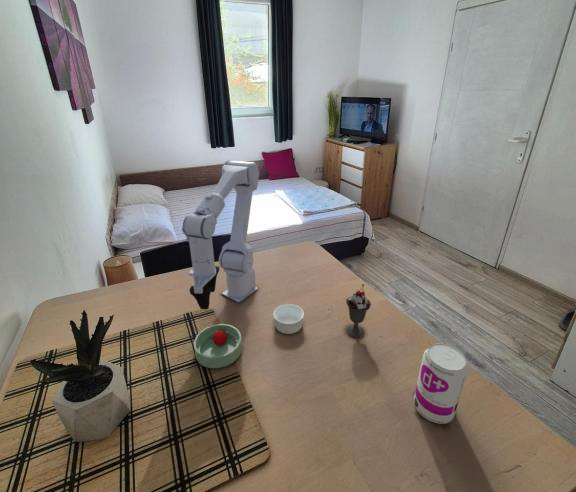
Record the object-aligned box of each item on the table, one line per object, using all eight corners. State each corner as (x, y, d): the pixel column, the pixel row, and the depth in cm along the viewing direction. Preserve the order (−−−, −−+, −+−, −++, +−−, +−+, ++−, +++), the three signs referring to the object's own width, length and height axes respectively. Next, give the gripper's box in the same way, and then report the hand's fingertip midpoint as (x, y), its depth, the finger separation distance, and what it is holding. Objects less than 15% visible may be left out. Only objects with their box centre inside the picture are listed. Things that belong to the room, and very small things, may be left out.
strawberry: (218, 349, 87) (221, 335, 90) (228, 346, 86) (231, 331, 89) (208, 343, 85) (211, 328, 88) (219, 339, 84) (222, 325, 87)
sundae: (365, 324, 95) (370, 281, 89) (368, 340, 89) (374, 295, 83) (342, 322, 96) (346, 279, 90) (344, 339, 90) (348, 294, 84)
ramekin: (268, 330, 93) (268, 318, 91) (280, 312, 100) (280, 300, 99) (297, 339, 90) (297, 327, 88) (307, 319, 97) (308, 307, 95)
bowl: (220, 329, 93) (218, 318, 92) (251, 347, 87) (250, 335, 85) (185, 355, 84) (184, 343, 83) (218, 377, 78) (216, 365, 76)
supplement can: (435, 433, 66) (450, 379, 60) (405, 400, 72) (415, 349, 66) (462, 415, 69) (478, 363, 63) (430, 386, 76) (442, 336, 70)
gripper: (194, 244, 92) (200, 284, 98) (178, 272, 79) (186, 316, 84) (219, 244, 92) (223, 284, 98) (207, 272, 79) (213, 316, 84)
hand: (207, 299), depth 91 cm, fingers open, 7 cm apart
